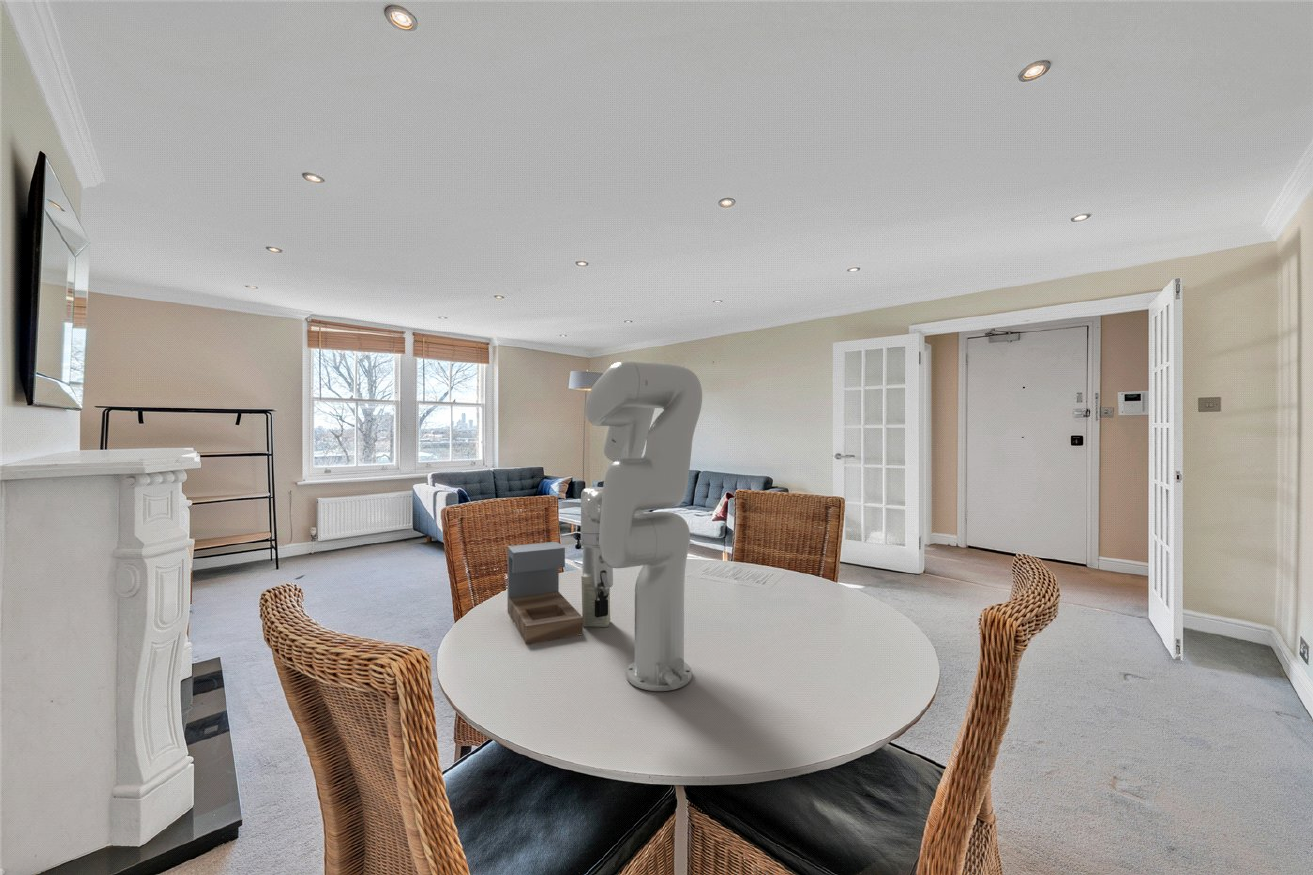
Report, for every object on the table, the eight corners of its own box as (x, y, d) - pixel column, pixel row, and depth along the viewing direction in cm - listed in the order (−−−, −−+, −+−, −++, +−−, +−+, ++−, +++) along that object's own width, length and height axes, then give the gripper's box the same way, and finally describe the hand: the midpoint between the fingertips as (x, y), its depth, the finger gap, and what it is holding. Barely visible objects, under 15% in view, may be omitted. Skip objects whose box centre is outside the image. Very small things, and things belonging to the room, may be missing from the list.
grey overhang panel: (564, 613, 136) (564, 547, 135) (513, 621, 130) (513, 552, 130) (556, 604, 143) (556, 541, 143) (507, 611, 137) (507, 546, 137)
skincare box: (610, 621, 131) (610, 571, 130) (607, 627, 126) (607, 576, 126) (585, 620, 131) (585, 571, 131) (581, 626, 127) (581, 576, 127)
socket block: (582, 634, 122) (582, 617, 122) (526, 644, 116) (526, 626, 116) (558, 606, 141) (558, 591, 141) (508, 613, 135) (508, 598, 135)
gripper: (624, 544, 122) (623, 620, 123) (599, 530, 138) (598, 598, 138) (593, 547, 119) (593, 625, 119) (571, 533, 135) (571, 602, 135)
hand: (596, 610), depth 129 cm, fingers open, 6 cm apart
